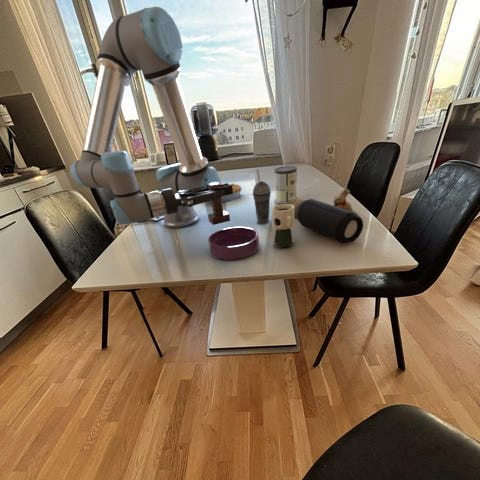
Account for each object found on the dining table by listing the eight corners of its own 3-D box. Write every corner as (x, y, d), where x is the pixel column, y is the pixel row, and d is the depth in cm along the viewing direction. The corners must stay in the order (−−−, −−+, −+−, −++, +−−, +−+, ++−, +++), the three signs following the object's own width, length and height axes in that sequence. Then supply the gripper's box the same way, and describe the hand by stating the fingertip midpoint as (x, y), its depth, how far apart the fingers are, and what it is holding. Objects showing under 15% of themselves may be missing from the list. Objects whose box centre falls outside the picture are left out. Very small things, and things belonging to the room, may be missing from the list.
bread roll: (293, 227, 119) (299, 212, 113) (281, 211, 123) (285, 196, 116) (312, 221, 123) (318, 206, 116) (299, 206, 126) (305, 190, 119)
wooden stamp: (213, 225, 98) (207, 186, 91) (209, 221, 102) (202, 184, 94) (230, 220, 100) (225, 182, 92) (225, 217, 103) (220, 180, 96)
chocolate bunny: (332, 210, 121) (335, 185, 115) (352, 209, 119) (355, 184, 113) (332, 214, 117) (334, 189, 111) (352, 214, 115) (355, 188, 108)
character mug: (267, 242, 102) (266, 205, 94) (285, 237, 104) (285, 201, 95) (280, 253, 94) (280, 214, 86) (300, 248, 95) (301, 209, 87)
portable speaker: (362, 241, 95) (367, 211, 89) (339, 249, 92) (343, 218, 86) (314, 221, 113) (315, 195, 107) (293, 227, 110) (294, 200, 104)
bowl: (201, 255, 99) (198, 242, 96) (230, 237, 109) (228, 224, 106) (240, 265, 90) (238, 250, 87) (268, 244, 101) (267, 230, 97)
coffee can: (280, 196, 144) (280, 165, 135) (299, 197, 139) (300, 166, 130) (271, 202, 138) (270, 171, 129) (290, 204, 133) (291, 171, 124)
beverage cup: (270, 224, 115) (269, 170, 102) (253, 225, 117) (249, 172, 104) (272, 218, 120) (271, 166, 108) (255, 219, 122) (252, 167, 110)
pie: (197, 196, 160) (195, 187, 157) (232, 188, 166) (231, 179, 163) (210, 206, 144) (209, 195, 141) (248, 196, 150) (248, 186, 146)
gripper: (161, 208, 98) (223, 195, 104) (171, 221, 86) (240, 205, 93) (155, 185, 94) (220, 172, 100) (164, 195, 82) (238, 180, 88)
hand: (230, 188), depth 96 cm, fingers closed on wooden stamp, 3 cm apart
